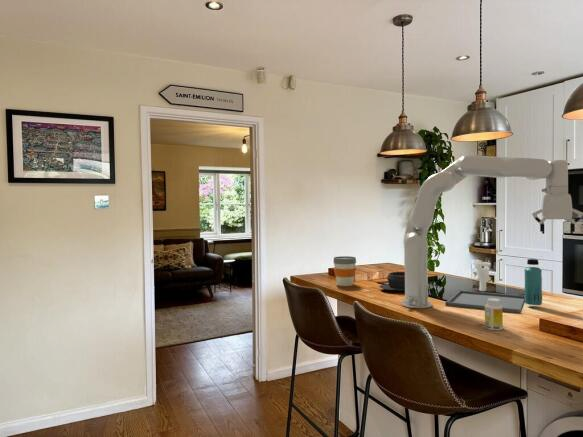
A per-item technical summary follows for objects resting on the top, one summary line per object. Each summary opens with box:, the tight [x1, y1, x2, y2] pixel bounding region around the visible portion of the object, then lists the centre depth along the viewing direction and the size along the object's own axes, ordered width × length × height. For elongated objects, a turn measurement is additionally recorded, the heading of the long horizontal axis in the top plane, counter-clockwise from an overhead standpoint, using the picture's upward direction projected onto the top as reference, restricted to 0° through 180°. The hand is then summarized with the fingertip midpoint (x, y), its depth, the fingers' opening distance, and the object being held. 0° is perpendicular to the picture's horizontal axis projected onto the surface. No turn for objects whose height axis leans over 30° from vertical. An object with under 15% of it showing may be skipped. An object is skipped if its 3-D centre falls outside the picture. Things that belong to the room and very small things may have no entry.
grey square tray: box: [445, 289, 525, 314], centre depth 183 cm, size 28×28×2 cm
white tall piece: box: [474, 259, 492, 292], centre depth 207 cm, size 7×7×15 cm
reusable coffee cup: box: [333, 255, 357, 287], centre depth 231 cm, size 13×13×15 cm
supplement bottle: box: [484, 298, 504, 331], centre depth 145 cm, size 6×6×10 cm
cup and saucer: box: [378, 271, 405, 293], centre depth 213 cm, size 25×19×8 cm
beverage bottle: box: [523, 258, 543, 306], centre depth 173 cm, size 6×7×20 cm
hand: (557, 233), depth 167 cm, fingers open, 9 cm apart
